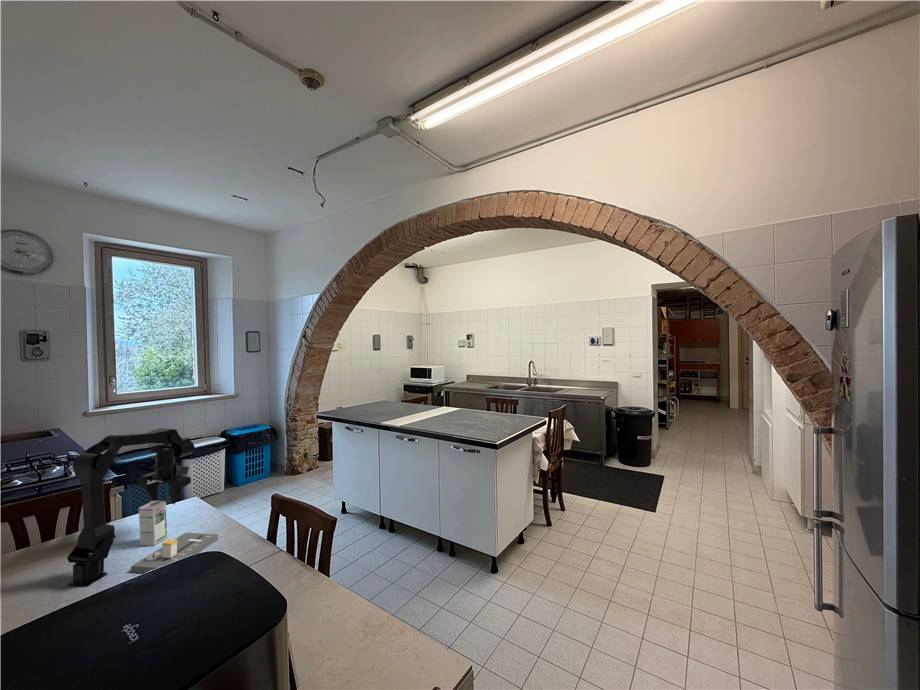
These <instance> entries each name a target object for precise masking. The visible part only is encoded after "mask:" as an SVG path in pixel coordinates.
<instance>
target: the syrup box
mask: <svg viewBox="0 0 920 690" xmlns="http://www.w3.org/2000/svg"><path fill="white" fill-rule="evenodd" d="M138 516H139V517H138V518H139V519H138V520H139V521H138V522H139V542H140V543H139V545H140V546H145V547H146V546H149V547H150V546H152V547H154V546H157V544H159V543H161V542H163V540H166V539H167V538H168V527H167V525H168V524H167V501H166V500H156V501H152V500H151V501H150V502H148V503H146V504H143V505H142V506H140V507H138Z"/></svg>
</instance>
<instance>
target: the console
mask: <svg viewBox="0 0 920 690" xmlns="http://www.w3.org/2000/svg"><path fill="white" fill-rule="evenodd" d="M174 540H177V554H176V555H175V556H173V557H172V558H163V546H162V547H160V548H159V549H157V550H155V551H153V552H152V553H149V554H148V555H146V557H143V558H142V559H140V560H139V561H137V562H136V563H134V564H132V565H131V567H130V572H131V573H136V572H142V573H141V574H146V573H145V572H148V571H150V570H153V569H156V568H159V567H161V566H164V565H167V564H169V563H172V562H174V561H177V560H180V559H182V558H185V557H187V556H190V555H194V554H197V553H198V554H200V553H201V552H202V551H203V550H205V549H206V548H208V547H210V546H211V545H212V544H214V543H215V542H217V541H218V540H219V539H218V534H217V533H201V532H199V533H197V532H184V533H183V534H181V535H179V536H178V537H176V538H175V539H174ZM198 554H197V555H198Z"/></svg>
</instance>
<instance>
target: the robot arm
mask: <svg viewBox="0 0 920 690" xmlns="http://www.w3.org/2000/svg"><path fill="white" fill-rule="evenodd" d="M145 444H148V445H149V444H155V445H154V446H153V448H151V449H150V450H149V452H150V453H153V454H155V464H154V465H152V470H153V469H154V472H153V471H152V472H149V473H147V474H146V473H145V474H142V475H140V476H139V478H138V481H137V482H138V485H140V486H141V487H142V488H143V490H145V492H146V493H147V495H148V496H149V498H150V499H151V501H158V500H157V499H158V493H159V486H160V484H161V483H165V484H167V486H168V488H167V491H168V495H169V499H170V501H171V502H170V503H171V504H172V505H175V504H176V502H177V500H178V499H179V496H180V493H181V492H182V490H183V488H185V487H187V486H188V485H189V484H191V483H192V481H191V480H192V478H191V477H190V476H188V473H189V469H190V466H185V465H179V463H178V462H175V460H176V459H179V458H182V457H186V456H188V455H189V456H190V455H192V454H194V452H195V450H196V449H195V443H194V442H193V441H191V438H190V437H184V438H182V437H181V435H179V432H178V429H175V428H161V427H160V428H156V429H152V430H150V431H148V432H138V433H126V434H108V435H107V436H105V437H103V439H102V440H100V441H99V442H97V443H96V444H93V445H92V446H90V447H89V448H87V449H85V450H84V451H83V452H82V453H79V455H77V456H76V457H75V459H73V461H72V464H71V465H72V470H73V474H74V475H75V477H76V478H77V480H78V481H79V482H80V484H81V498H82V499H81V501H82V516H83V517H82V519H83V528H82V529H81V531H80V532H79V535H78V536H77V544H76V545H75V547H74V548H73V549H72V551H70V553H69V554H68V555H67V557H66V559H67V561H68V563H69V564H71V563H72V564H73V565H72V581H70V582H68V583H67V586H74V587H76V586H77V587H88V586H90V585H91V584H93V583H96V581H98V580H100V579H102V578H103V577H105V576H107V575H108V572H106V571H105V559H107V558H108V557H109V553H110V551H111V547H112V545H114V539H115V538H116V534H115V529H116V528H115V525H113V524H107V522H106V513H105V493H104V478H105V477H106V475H107V474H108V472H109V467H110V463H111V462H112V461H113V460H114V459H116V457H117V456H118V453H119V451H120V450H121V448H122V447H130V446H137V445H145ZM103 452H104V453H103Z"/></svg>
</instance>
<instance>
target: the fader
mask: <svg viewBox="0 0 920 690" xmlns="http://www.w3.org/2000/svg"><path fill="white" fill-rule="evenodd" d="M161 546H162V547H163V558H172V557H173V556H175V555H176V554H177V540H175V539H171V538H169V539H167V540H165V541H164V542H163V541H162V543H161Z"/></svg>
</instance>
